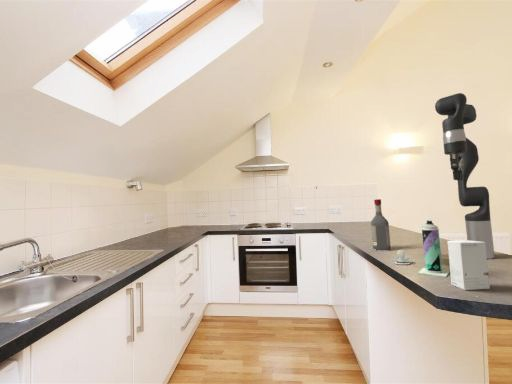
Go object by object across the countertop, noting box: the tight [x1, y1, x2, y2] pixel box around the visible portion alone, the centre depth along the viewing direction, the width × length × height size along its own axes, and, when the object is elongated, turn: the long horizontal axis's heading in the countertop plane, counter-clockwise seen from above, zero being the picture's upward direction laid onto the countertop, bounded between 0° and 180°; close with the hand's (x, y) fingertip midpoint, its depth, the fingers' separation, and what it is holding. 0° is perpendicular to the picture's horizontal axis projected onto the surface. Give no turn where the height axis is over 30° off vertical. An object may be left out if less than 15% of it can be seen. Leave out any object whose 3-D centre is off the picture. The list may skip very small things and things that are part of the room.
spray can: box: [421, 220, 443, 273], centre depth 100 cm, size 6×6×20 cm
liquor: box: [370, 198, 392, 251], centre depth 153 cm, size 9×9×30 cm
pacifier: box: [392, 249, 412, 266], centre depth 117 cm, size 7×6×6 cm
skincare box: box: [446, 240, 491, 291], centre depth 83 cm, size 8×6×15 cm
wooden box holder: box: [441, 252, 450, 271], centre depth 106 cm, size 10×10×5 cm
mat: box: [417, 267, 450, 278], centre depth 100 cm, size 9×9×1 cm
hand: (458, 180), depth 106 cm, fingers open, 8 cm apart
